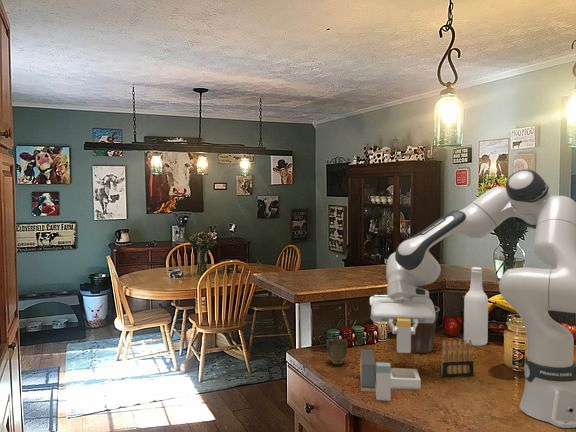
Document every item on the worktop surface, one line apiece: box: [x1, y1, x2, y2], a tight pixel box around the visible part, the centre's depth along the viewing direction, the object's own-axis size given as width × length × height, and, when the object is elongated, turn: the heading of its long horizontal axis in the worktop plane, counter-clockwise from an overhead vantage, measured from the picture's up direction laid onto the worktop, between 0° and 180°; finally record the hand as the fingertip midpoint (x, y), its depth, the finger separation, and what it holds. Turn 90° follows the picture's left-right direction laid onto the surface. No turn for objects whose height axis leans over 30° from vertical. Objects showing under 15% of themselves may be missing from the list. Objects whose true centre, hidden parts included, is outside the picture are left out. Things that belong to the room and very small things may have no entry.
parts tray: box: [391, 367, 422, 391], centre depth 153 cm, size 9×9×3 cm
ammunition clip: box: [439, 339, 475, 379], centre depth 159 cm, size 11×2×12 cm, turn 96°
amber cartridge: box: [396, 318, 412, 354], centre depth 153 cm, size 4×3×10 cm
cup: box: [325, 338, 349, 366], centre depth 170 cm, size 8×7×8 cm
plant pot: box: [411, 305, 441, 354], centre depth 186 cm, size 16×16×16 cm
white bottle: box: [463, 266, 489, 347], centre depth 193 cm, size 9×9×30 cm
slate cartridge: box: [375, 361, 392, 402], centre depth 142 cm, size 4×3×10 cm
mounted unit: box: [359, 349, 376, 393], centre depth 154 cm, size 5×16×8 cm, turn 173°
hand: (403, 333), depth 152 cm, fingers closed on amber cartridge, 4 cm apart
